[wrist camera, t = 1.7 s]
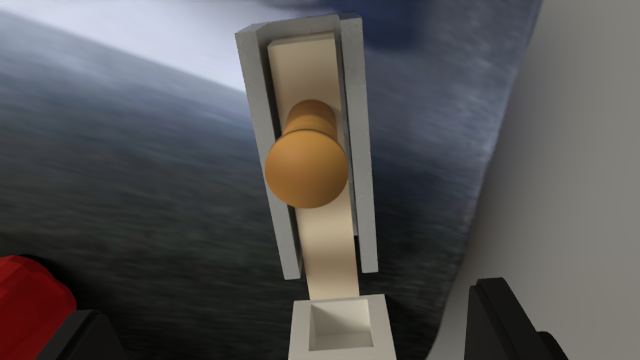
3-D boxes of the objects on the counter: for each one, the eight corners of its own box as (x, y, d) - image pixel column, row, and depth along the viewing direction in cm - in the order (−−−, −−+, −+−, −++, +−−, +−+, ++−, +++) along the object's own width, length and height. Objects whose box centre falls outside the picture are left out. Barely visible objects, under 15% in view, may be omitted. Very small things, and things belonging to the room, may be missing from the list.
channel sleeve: (252, 23, 27) (234, 33, 22) (354, 10, 27) (361, 17, 21) (291, 234, 35) (284, 279, 30) (370, 227, 35) (378, 271, 29)
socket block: (294, 301, 39) (287, 372, 32) (384, 294, 38) (397, 364, 31) (302, 343, 42) (297, 417, 34) (386, 336, 41) (399, 411, 34)
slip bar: (275, 38, 26) (243, 71, 16) (333, 31, 26) (338, 59, 16) (312, 268, 35) (306, 381, 25) (355, 264, 35) (368, 377, 25)
